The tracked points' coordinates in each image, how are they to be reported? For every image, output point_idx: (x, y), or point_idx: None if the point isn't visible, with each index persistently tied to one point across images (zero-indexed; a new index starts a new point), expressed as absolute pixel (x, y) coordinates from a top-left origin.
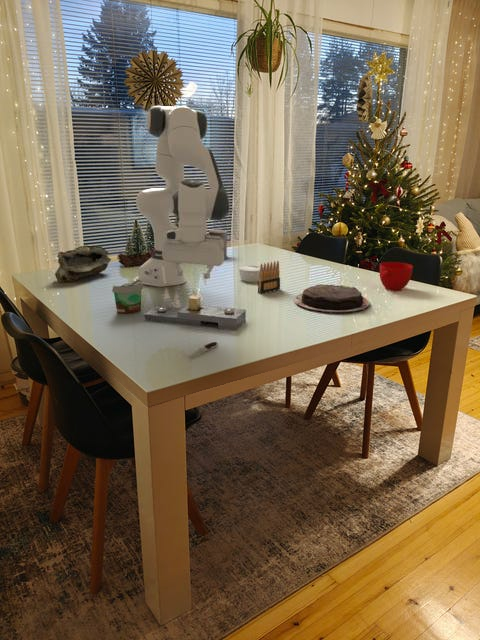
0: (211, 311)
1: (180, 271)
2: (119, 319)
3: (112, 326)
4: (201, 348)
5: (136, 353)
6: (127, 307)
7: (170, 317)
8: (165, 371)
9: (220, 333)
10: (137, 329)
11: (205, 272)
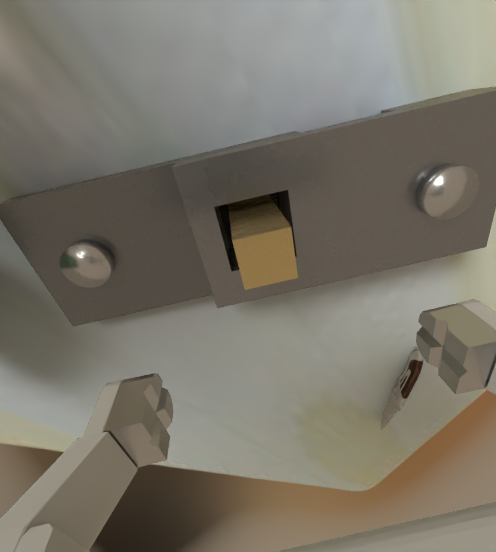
0: (351, 222)
1: (165, 453)
2: (11, 349)
3: (66, 393)
4: (401, 405)
5: (265, 447)
6: None
7: (187, 299)
8: (359, 459)
9: (398, 276)
10: (148, 374)
11: (468, 365)
